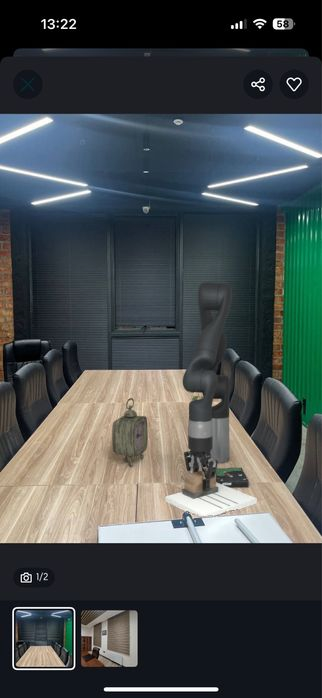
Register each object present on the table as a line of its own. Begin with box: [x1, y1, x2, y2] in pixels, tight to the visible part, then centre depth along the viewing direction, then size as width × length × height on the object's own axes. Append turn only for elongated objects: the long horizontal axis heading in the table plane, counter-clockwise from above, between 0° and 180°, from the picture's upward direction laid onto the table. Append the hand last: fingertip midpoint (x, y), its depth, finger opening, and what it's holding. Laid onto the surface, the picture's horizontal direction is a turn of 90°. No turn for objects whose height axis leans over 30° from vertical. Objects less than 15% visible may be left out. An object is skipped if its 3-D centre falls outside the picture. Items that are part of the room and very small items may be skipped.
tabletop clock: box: [111, 397, 149, 468], centre depth 193 cm, size 14×9×25 cm, turn 160°
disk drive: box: [216, 467, 250, 489], centre depth 172 cm, size 10×3×15 cm
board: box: [164, 483, 258, 516], centre depth 152 cm, size 18×21×2 cm
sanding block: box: [181, 470, 218, 499], centre depth 156 cm, size 10×6×6 cm, turn 126°
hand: (200, 487), depth 156 cm, fingers closed on sanding block, 4 cm apart
